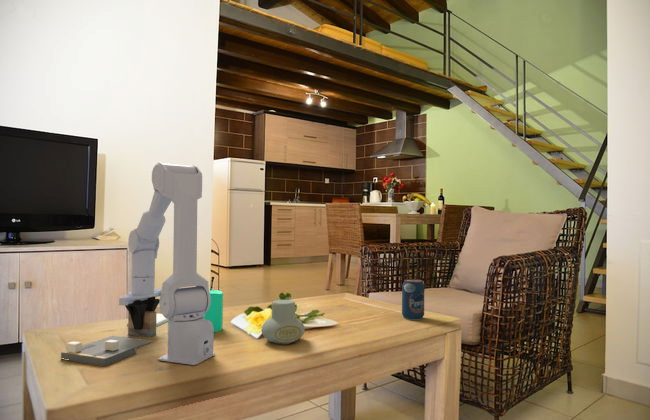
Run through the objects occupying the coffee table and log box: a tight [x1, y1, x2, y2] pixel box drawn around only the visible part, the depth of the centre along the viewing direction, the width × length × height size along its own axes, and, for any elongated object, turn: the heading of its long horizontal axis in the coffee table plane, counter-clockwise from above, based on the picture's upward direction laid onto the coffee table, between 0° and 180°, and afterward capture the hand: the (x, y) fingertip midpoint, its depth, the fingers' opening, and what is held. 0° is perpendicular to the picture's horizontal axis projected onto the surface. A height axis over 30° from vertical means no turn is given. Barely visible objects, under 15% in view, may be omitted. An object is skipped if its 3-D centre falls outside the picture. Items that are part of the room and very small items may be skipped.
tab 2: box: [105, 340, 119, 351], centre depth 98 cm, size 2×2×2 cm
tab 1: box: [66, 340, 83, 353], centre depth 96 cm, size 2×2×2 cm
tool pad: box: [94, 335, 152, 349], centre depth 108 cm, size 12×6×1 cm, turn 72°
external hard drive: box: [126, 313, 168, 328], centre depth 130 cm, size 2×8×12 cm
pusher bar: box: [127, 311, 158, 338], centre depth 116 cm, size 7×2×6 cm, turn 72°
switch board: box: [60, 341, 137, 367], centre depth 98 cm, size 12×9×2 cm
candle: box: [203, 289, 224, 333], centre depth 122 cm, size 6×6×12 cm
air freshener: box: [260, 299, 306, 345], centre depth 112 cm, size 11×8×10 cm
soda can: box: [401, 278, 425, 321], centre depth 139 cm, size 7×7×12 cm
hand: (142, 327), depth 116 cm, fingers closed on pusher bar, 2 cm apart
